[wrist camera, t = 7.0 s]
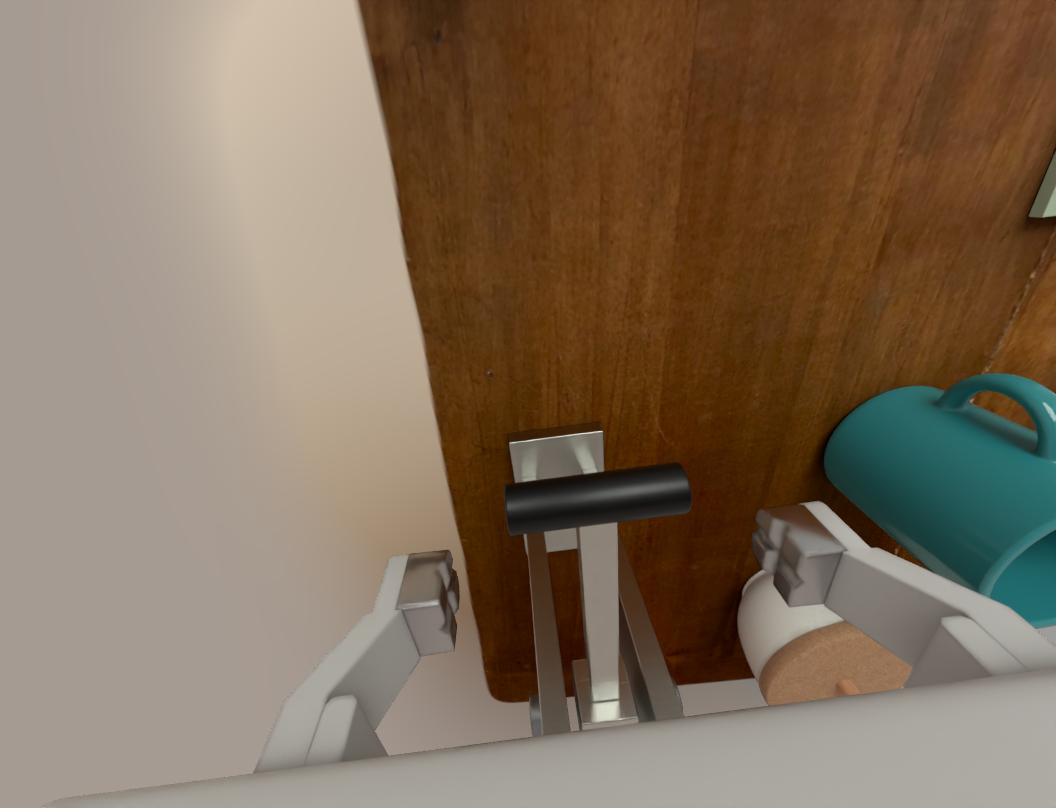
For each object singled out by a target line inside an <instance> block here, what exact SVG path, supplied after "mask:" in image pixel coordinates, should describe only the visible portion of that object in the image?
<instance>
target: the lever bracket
mask: <svg viewBox="0 0 1056 808" xmlns="http://www.w3.org/2000/svg"><path fill="white" fill-rule="evenodd" d="M508 436H509V448H510V454H511V461H512V467H513V473H514V480H515V483H517V482H525V481H533V480H541V479H549V478H556V477H564V476H572V475H580V474H587V473H595V472H603V471H604V447H603V430H602V428H601V425H600V423H599V422H595V423H587V424H579V425H571V426H563V427H556V428H548V429H540V430H532V431H524V432H517V433H509V435H508ZM523 536H524V542H525V549H526V554H527V555H528V563H529V575H530V588H531V601H532V613H533V626H534V639H535V651H536V664H537V677H538V689H539V694H534V695H530V697H529V706H530V707H529V708H530V720H531V729H532V735H533V737H536V736H543V735H551V734H558V733H566V732H571V731H570V723H569V716H568V708H567V701H566V693H565V685H564V678H563V670H562V663H561V655H560V648H559V640H558V632H557V625H556V617H555V610H554V602H553V595H552V587H551V579H550V572H549V564H548V557H547V552H554V551H562V550H569V549H577V537H576V528H571V529H563V530H555V531H547V532H540V533H532V534H524V535H523ZM618 593H619V651H620V655H623V657H624V661H625V664H626V668H627V672H628V676H629V679H630V683H631V687H632V691H633V695H634V698H635V702H636V706H637V710H638V713H639V723H642V722H649V721H657V720H665V719H672V718H680V717H684V715H683V706H682V702H681V698H680V694H679V690H678V688H677V685H676V683H675V681H674V679H673V678H672V677H670V675H669V672H668V669H667V666H666V663H665V661H664V658H663V655H662V652H661V649H660V646H659V643H658V641H657V638H656V635H655V632H654V629H653V626H652V624H651V621H650V618H649V615H648V612H647V609H646V607H645V604H644V601H643V598H642V595H641V592H640V589H639V587H638V584H637V581H636V578H635V575H634V572H633V570H632V567H631V564H630V561H629V558H628V555H627V553H626V550H625V547H624V544H623V541H622V538H621V535H620V533H619V530H618Z"/></svg>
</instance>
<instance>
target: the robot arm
mask: <svg viewBox="0 0 1056 808" xmlns="http://www.w3.org/2000/svg"><path fill="white" fill-rule="evenodd" d="M756 522H757V523H758V524H759V527H758V528H757V529H756V530H755V531H754V532H753V535H752V542H751V543H752V548H753V553H754V555H755V557H756V560H757V562H758V563H759V565H760V566H761V568H762V569H763V570H765V571H766V572H768V573H770V574H771V575H773V576H774V580H773V585H774V586H775V588H776V589H777V591H778V592H779V593H780V595H781V596H782V598H783V599H784V601H785V602H786V603H787V605H788V606H789V607H799V606H809V605H819V604H824V606H825V607H827V608H828V609H829V610H831V611H832V612H834V613H835V614H837V615H838V616H839V617H841V618H842V619H844V620H845V621H846V622H848V623H849V624H851V625H852V626H854V627H855V628H856V629H858V630H859V631H861V632H862V633H864V634H865V635H866V636H868V637H869V638H871V639H872V640H874V641H875V642H876V643H878V644H879V645H881V646H882V647H884V648H885V649H886V650H888V651H889V652H891V653H892V654H894V655H895V656H896V657H898V658H899V659H901V660H902V661H904V662H905V663H906V664H908V665H909V666H911V667H912V670H911V672H910V673H909V675H908V677H907V679H906V680H905V682H904V687H903V688H901V689H893V690H886V691H878V692H871V693H863V694H855V695H848V696H840V697H833V698H825V699H817V700H810V701H802V702H794V703H787V704H779V705H771V706H764V707H756V708H749V709H741V710H733V711H726V712H718V713H710V714H702V715H695V716H688V717H680V718H672V719H665V720H657V721H649V722H642V723H634V724H627V725H619V726H612V727H604V728H596V729H589V730H581V731H574V732H566V733H558V734H551V735H543V736H536V737H528V738H521V739H513V740H505V741H498V742H490V743H483V744H475V745H468V746H460V747H453V748H444V749H437V750H429V751H422V752H414V753H406V754H399V755H391V756H388V754H387V752H386V750H385V749H384V747H383V745H382V743H381V742H380V740H379V738H378V736H377V734H376V733H375V730H376V728H377V727H378V725H379V723H380V722H381V720H382V719H383V717H384V715H385V714H386V712H387V711H388V709H389V708H390V706H391V705H392V703H393V701H394V700H395V698H396V696H397V695H398V694H399V692H400V690H401V689H402V687H403V686H404V684H405V683H406V681H407V679H408V678H409V676H410V675H411V673H412V672H413V670H414V668H415V667H416V665H417V664H418V662H419V661H420V657H421V656H427V655H433V654H440V653H446V652H452V651H455V641H456V631H457V624H456V620H455V617H454V614H455V613H456V612H457V610H458V609H459V583H458V576H457V573H456V571H455V570H454V569H452V562H453V559H452V556H451V552H450V551H449V550H442V551H432V552H422V553H413V554H406V555H397V556H391V558H390V559H389V560H388V562H387V566H386V569H385V573H384V576H383V579H382V582H381V586H380V589H379V592H378V596H377V599H376V602H375V606H374V609H373V612H372V613H369V614H366V615H365V616H364V617H363V618H362V619H361V620H360V621H359V622H358V623H357V624H356V625H355V627H353V628H352V630H351V631H350V632H349V633H348V634H347V635H346V636H345V637H344V638H343V639H342V640H341V641H340V642H339V643H338V644H337V645H336V646H335V648H334V649H333V650H332V651H331V652H330V653H329V654H328V655H327V656H326V657H325V658H324V659H323V660H322V661H321V662H320V663H319V664H318V666H317V667H316V668H315V669H314V670H313V671H312V672H311V673H310V674H309V675H308V676H307V677H306V678H305V679H304V680H303V681H302V682H301V684H300V685H299V686H298V687H297V688H296V689H295V690H294V691H293V692H292V693H291V694H290V695H289V696H288V697H287V698H286V699H285V700H284V702H283V704H282V706H281V709H280V711H279V713H278V716H277V718H276V720H275V723H274V725H273V728H272V730H271V732H270V734H269V737H268V739H267V742H266V744H265V747H264V749H263V751H262V753H261V756H260V758H259V760H258V763H257V765H256V768H255V770H254V772H253V774H246V775H238V776H231V777H223V778H215V779H208V780H201V781H192V782H186V783H177V784H170V785H162V786H154V787H147V788H139V789H131V790H124V791H115V792H107V793H99V794H92V795H83V796H75V797H69V798H63V799H59V800H56V801H53V802H50V803H48V804H45V805H43V806H41V807H39V808H1056V645H1055V644H1054V643H1053V642H1051V641H1050V640H1049V639H1048V638H1046V637H1045V636H1044V635H1043V634H1042V633H1040V632H1039V631H1038V630H1037V629H1035V628H1034V627H1033V626H1032V625H1031V624H1029V623H1028V622H1027V621H1026V620H1025V619H1023V618H1022V617H1021V616H1020V615H1018V614H1017V613H1016V612H1015V611H1014V610H1012V609H1011V608H1010V607H1008V606H1006V605H1003V604H1001V603H999V602H997V601H995V600H992V599H990V598H988V597H986V596H984V595H981V594H979V593H977V592H975V591H972V590H970V589H968V588H966V587H964V586H961V585H959V584H957V583H955V582H953V581H950V580H948V579H946V578H944V577H942V576H939V575H937V574H935V573H933V572H930V571H928V570H926V569H924V568H922V567H919V566H917V565H915V564H913V563H911V562H908V561H906V560H904V559H902V558H900V557H897V556H895V555H893V554H891V553H888V552H886V551H884V550H882V549H880V548H870V547H869V546H868V545H867V544H866V543H865V542H864V541H863V540H862V539H861V538H860V537H859V536H858V535H857V534H856V533H855V532H854V531H853V530H852V529H851V528H850V527H849V526H847V525H846V524H845V523H844V522H843V521H842V520H841V519H840V518H839V517H838V516H837V515H836V514H835V513H834V512H833V511H832V510H831V509H830V508H829V507H828V506H827V505H826V504H824V503H822V502H820V501H814V502H807V503H800V504H792V505H785V506H778V507H771V508H764V509H760V510H759V511H758V512H757V515H756Z"/></svg>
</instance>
